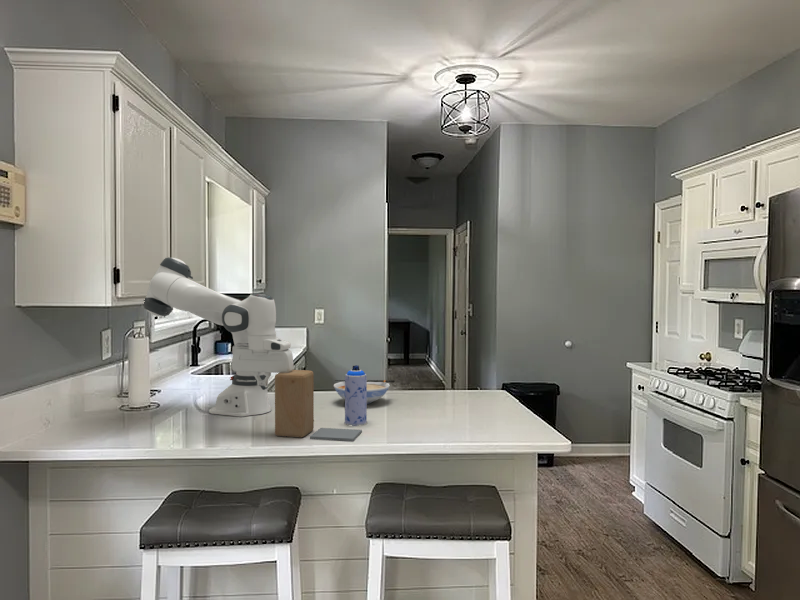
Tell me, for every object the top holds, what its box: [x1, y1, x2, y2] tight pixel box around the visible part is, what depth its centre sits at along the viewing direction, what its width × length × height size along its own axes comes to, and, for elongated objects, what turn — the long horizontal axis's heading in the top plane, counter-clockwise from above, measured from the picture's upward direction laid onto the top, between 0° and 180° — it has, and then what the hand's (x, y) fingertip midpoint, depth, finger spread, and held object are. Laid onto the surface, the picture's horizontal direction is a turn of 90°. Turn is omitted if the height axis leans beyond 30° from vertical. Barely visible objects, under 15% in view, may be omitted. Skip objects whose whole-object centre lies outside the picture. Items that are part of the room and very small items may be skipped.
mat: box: [309, 427, 363, 442], centre depth 186 cm, size 14×11×1 cm
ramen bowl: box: [333, 379, 396, 405], centre depth 236 cm, size 25×23×8 cm
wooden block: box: [274, 369, 315, 438], centre depth 189 cm, size 10×10×20 cm
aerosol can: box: [344, 365, 368, 427], centre depth 203 cm, size 8×8×20 cm
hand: (262, 385), depth 190 cm, fingers closed
